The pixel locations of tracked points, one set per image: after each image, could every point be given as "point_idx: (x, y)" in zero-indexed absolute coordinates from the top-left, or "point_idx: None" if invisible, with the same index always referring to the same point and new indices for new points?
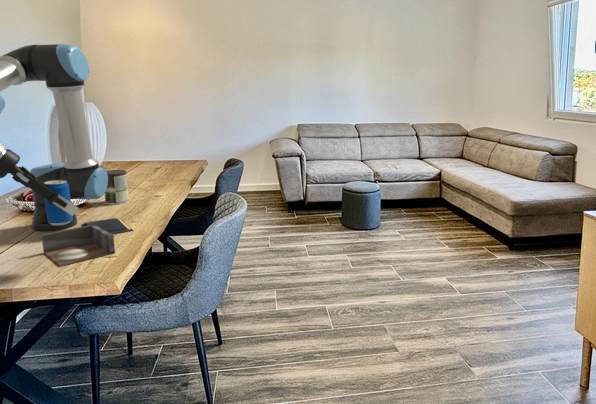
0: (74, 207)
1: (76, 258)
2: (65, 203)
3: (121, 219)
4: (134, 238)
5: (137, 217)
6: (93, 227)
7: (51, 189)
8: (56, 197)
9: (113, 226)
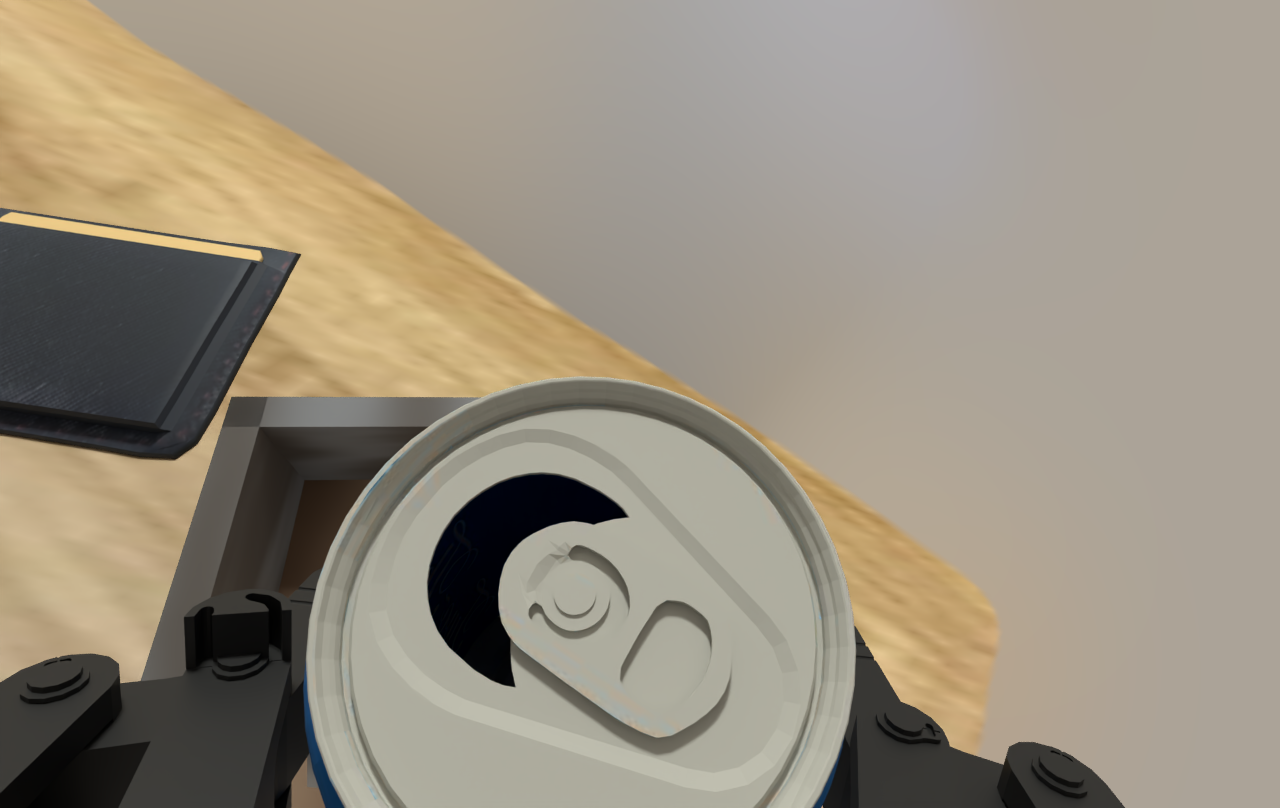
0: None
1: None
2: (855, 641)
3: (12, 210)
4: (430, 300)
5: (71, 150)
6: (311, 425)
7: (825, 797)
8: (987, 770)
9: (149, 295)
